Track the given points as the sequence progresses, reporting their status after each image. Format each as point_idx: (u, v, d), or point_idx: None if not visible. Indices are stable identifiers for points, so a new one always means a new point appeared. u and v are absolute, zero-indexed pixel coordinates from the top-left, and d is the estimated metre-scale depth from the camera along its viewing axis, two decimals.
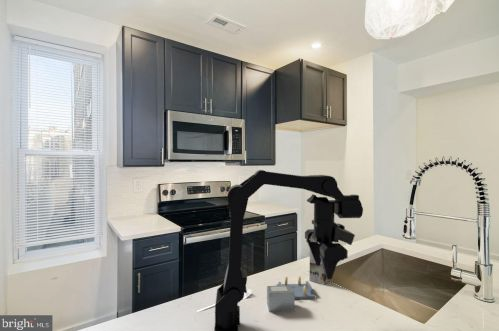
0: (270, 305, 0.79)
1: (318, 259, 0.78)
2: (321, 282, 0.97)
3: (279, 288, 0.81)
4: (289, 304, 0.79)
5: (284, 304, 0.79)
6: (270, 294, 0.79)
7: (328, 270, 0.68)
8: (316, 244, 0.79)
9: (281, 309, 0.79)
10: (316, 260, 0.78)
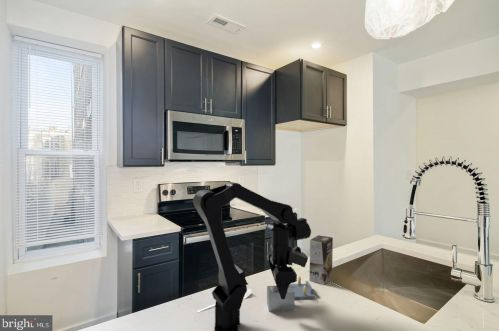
0: (270, 305, 0.79)
1: None
2: (321, 282, 0.97)
3: None
4: (289, 304, 0.79)
5: (284, 304, 0.79)
6: (270, 294, 0.79)
7: (281, 291, 0.75)
8: (276, 265, 0.86)
9: (281, 309, 0.79)
10: None
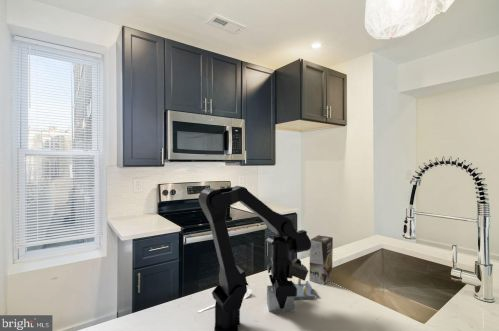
0: (270, 305, 0.79)
1: None
2: (321, 282, 0.97)
3: None
4: (289, 304, 0.79)
5: None
6: (270, 294, 0.79)
7: (280, 301, 0.78)
8: None
9: (281, 309, 0.79)
10: None
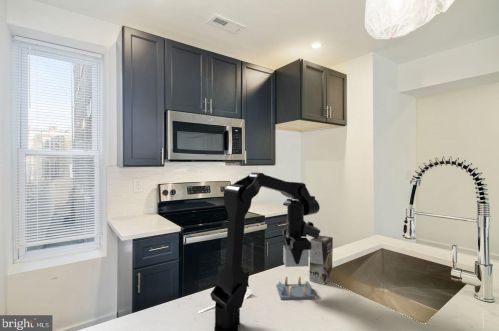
0: (287, 260, 0.88)
1: None
2: (321, 282, 0.97)
3: None
4: (304, 260, 0.88)
5: None
6: (286, 251, 0.88)
7: (295, 257, 0.87)
8: None
9: (296, 264, 0.88)
10: None
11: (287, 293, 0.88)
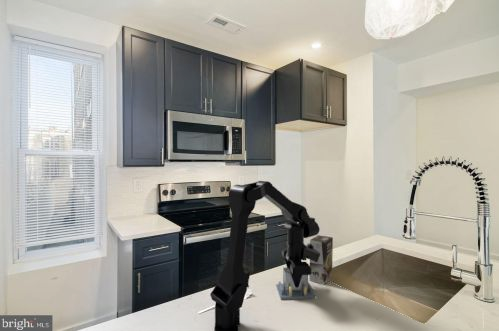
0: (286, 284, 0.88)
1: None
2: (321, 282, 0.97)
3: None
4: (303, 283, 0.89)
5: None
6: (286, 274, 0.88)
7: (295, 280, 0.87)
8: (292, 263, 0.93)
9: None
10: None
11: (287, 293, 0.88)
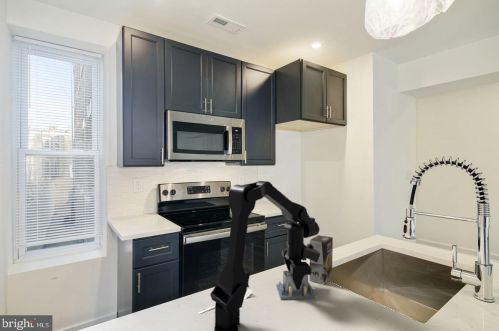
0: (286, 287, 0.88)
1: None
2: (321, 282, 0.97)
3: None
4: (303, 286, 0.89)
5: None
6: (286, 277, 0.88)
7: (296, 282, 0.86)
8: (291, 261, 0.95)
9: (296, 291, 0.88)
10: None
11: None
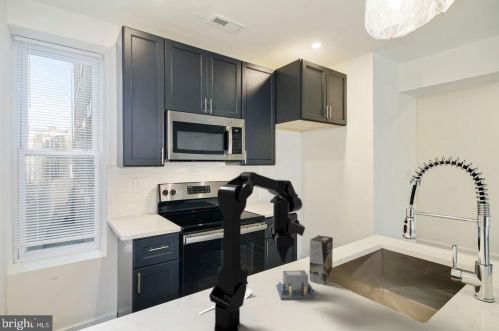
0: (286, 287, 0.88)
1: None
2: (321, 282, 0.97)
3: (294, 272, 0.91)
4: (303, 286, 0.89)
5: (299, 286, 0.88)
6: (286, 277, 0.88)
7: (281, 255, 0.87)
8: None
9: (296, 291, 0.88)
10: (277, 248, 0.97)
11: None
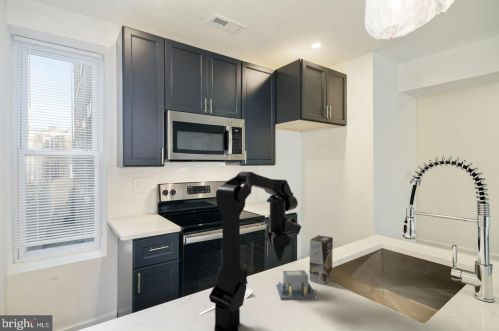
0: (286, 287, 0.88)
1: None
2: (321, 282, 0.97)
3: (294, 272, 0.91)
4: (303, 286, 0.89)
5: (299, 286, 0.88)
6: (286, 277, 0.88)
7: (278, 253, 0.88)
8: None
9: (296, 291, 0.88)
10: (273, 247, 0.98)
11: None
